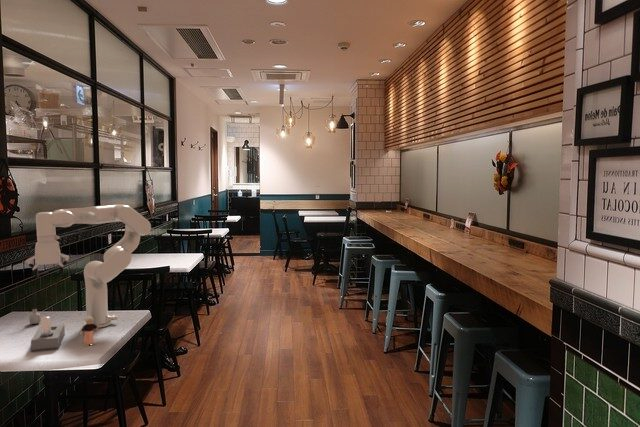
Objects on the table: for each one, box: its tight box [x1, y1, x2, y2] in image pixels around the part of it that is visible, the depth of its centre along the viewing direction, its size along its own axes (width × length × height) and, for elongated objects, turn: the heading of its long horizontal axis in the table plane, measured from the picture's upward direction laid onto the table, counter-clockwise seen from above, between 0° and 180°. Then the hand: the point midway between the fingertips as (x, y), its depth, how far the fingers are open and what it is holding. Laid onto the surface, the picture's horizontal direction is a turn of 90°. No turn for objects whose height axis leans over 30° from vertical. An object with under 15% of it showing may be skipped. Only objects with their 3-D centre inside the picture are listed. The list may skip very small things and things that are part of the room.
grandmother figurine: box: [79, 316, 100, 347], centre depth 213 cm, size 8×4×13 cm, turn 148°
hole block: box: [30, 324, 66, 353], centre depth 215 cm, size 10×20×5 cm, turn 21°
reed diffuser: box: [23, 283, 42, 325], centre depth 242 cm, size 10×7×20 cm
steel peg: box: [40, 315, 52, 337], centre depth 210 cm, size 4×4×12 cm
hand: (49, 276), depth 225 cm, fingers open, 9 cm apart
